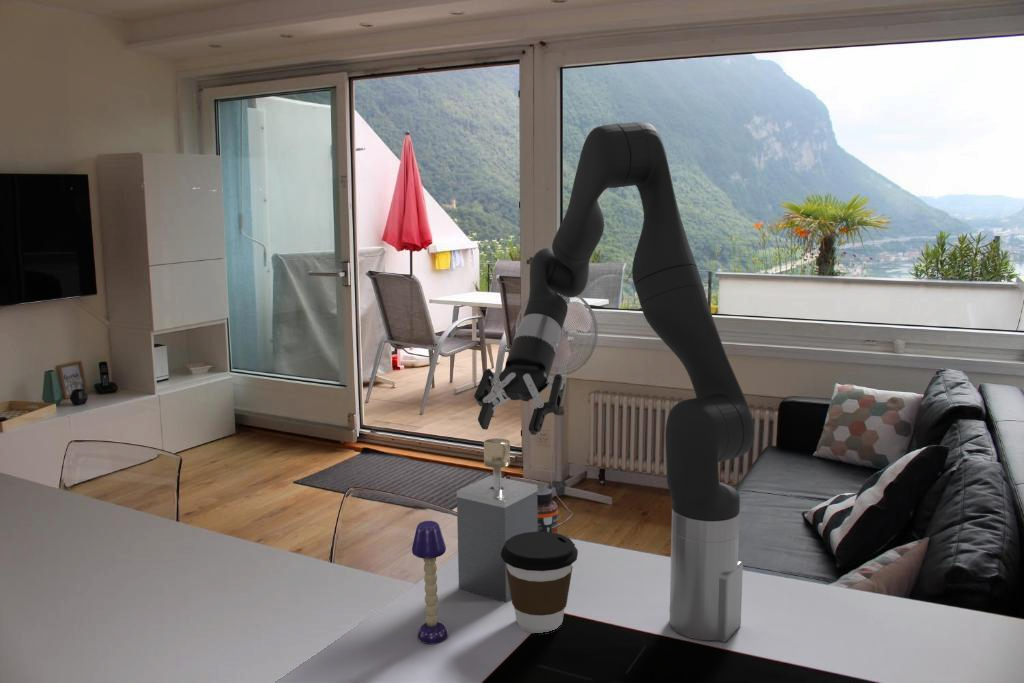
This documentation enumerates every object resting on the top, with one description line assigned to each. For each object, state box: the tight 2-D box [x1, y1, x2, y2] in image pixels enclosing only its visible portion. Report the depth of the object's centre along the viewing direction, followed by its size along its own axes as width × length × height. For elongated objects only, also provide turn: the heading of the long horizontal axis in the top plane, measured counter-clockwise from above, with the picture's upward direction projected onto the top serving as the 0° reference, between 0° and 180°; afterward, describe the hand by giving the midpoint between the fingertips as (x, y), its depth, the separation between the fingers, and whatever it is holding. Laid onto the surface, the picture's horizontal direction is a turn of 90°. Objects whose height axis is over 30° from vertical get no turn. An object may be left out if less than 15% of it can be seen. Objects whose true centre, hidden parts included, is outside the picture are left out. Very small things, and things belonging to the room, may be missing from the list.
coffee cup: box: [501, 532, 579, 634], centre depth 122 cm, size 11×11×12 cm
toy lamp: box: [411, 520, 449, 645], centre depth 118 cm, size 5×5×17 cm
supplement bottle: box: [537, 487, 559, 534], centre depth 147 cm, size 6×6×11 cm
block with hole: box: [456, 475, 538, 603], centre depth 135 cm, size 9×9×16 cm
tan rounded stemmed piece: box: [483, 437, 511, 491], centre depth 134 cm, size 7×7×18 cm
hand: (507, 429), depth 136 cm, fingers open, 8 cm apart
